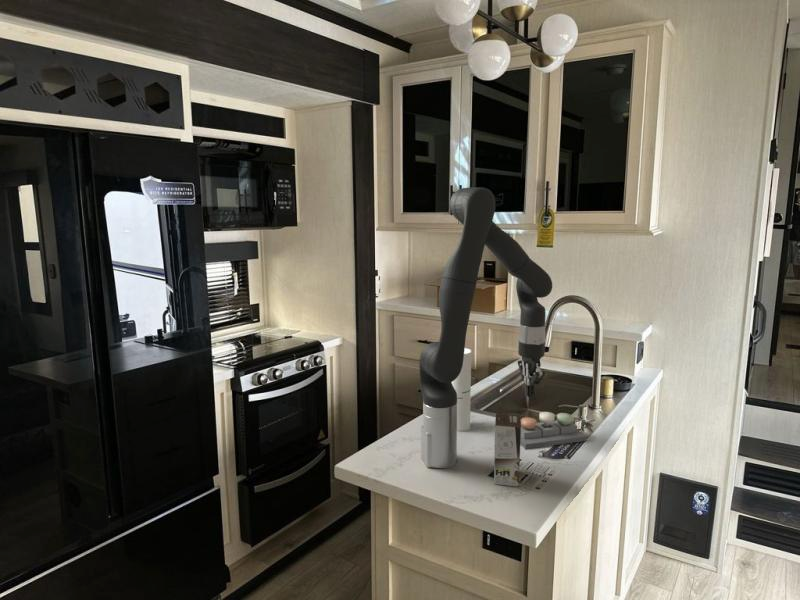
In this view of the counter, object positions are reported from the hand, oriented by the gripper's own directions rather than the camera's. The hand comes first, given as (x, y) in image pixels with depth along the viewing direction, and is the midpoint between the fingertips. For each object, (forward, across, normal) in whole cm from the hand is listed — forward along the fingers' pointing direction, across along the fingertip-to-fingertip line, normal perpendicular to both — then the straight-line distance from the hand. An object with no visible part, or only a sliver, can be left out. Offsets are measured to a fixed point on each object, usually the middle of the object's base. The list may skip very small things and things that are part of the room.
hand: (529, 395), depth 163 cm
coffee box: (+14, +19, -16) cm, 29 cm away
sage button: (+11, 0, +12) cm, 16 cm away
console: (+13, 0, +6) cm, 15 cm away
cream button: (+10, 0, +6) cm, 12 cm away
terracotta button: (+11, 0, 0) cm, 11 cm away
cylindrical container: (+14, -14, -17) cm, 26 cm away
